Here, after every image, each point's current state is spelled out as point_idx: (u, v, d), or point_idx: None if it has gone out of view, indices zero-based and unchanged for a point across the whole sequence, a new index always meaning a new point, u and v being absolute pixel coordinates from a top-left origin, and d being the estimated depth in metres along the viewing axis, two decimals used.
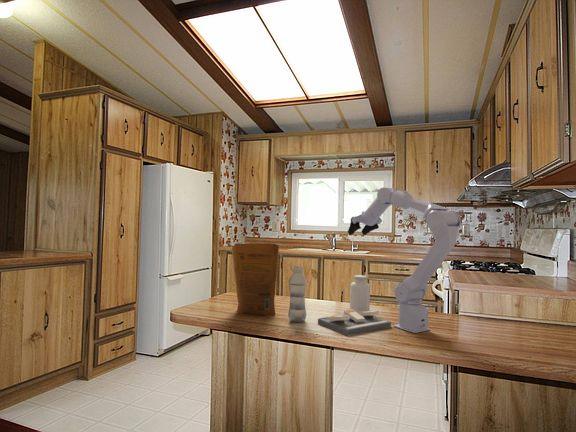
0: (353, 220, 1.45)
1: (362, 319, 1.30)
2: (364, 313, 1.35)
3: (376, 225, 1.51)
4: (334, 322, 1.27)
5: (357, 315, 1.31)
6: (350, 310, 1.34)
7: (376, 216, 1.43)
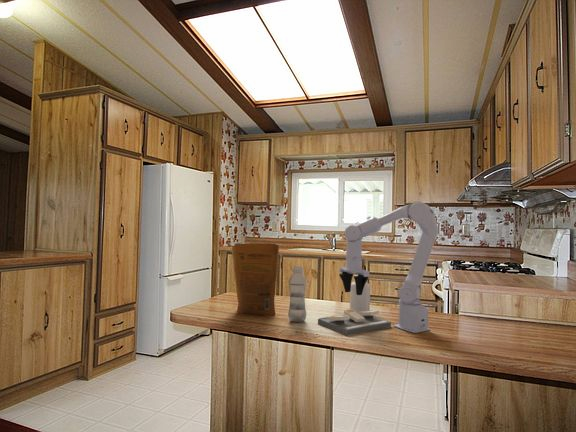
0: (367, 274, 1.34)
1: (362, 319, 1.30)
2: (364, 313, 1.35)
3: None
4: (334, 322, 1.27)
5: (357, 315, 1.31)
6: (350, 310, 1.34)
7: None
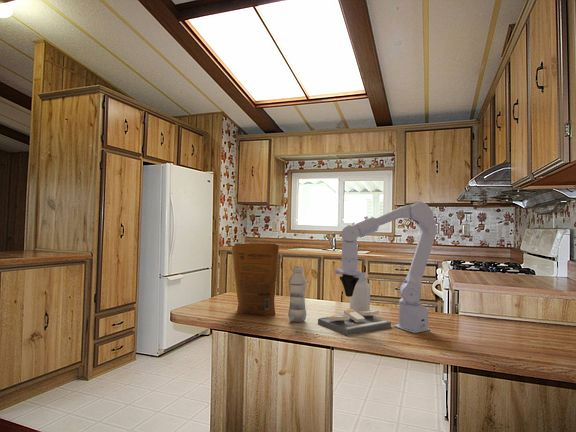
0: (363, 276, 1.29)
1: (362, 319, 1.30)
2: (364, 313, 1.35)
3: None
4: (334, 322, 1.27)
5: (357, 315, 1.31)
6: (350, 310, 1.34)
7: None
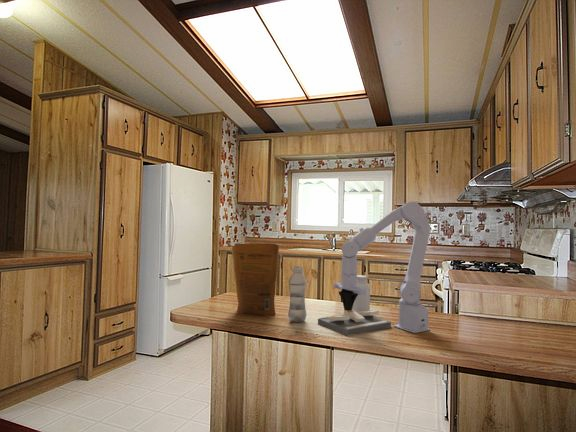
0: (362, 292, 1.29)
1: (362, 319, 1.30)
2: (364, 313, 1.35)
3: None
4: (334, 322, 1.27)
5: (357, 315, 1.31)
6: (350, 310, 1.34)
7: None
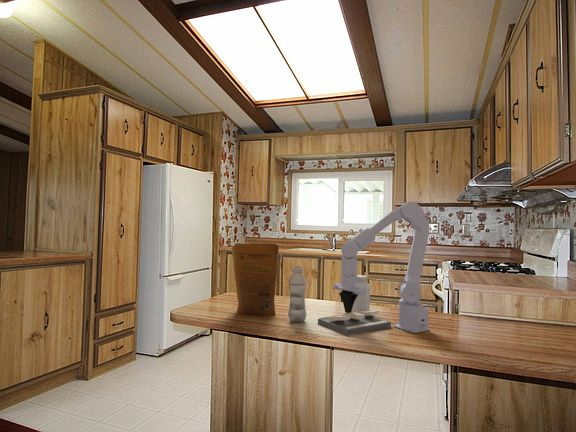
0: (362, 293, 1.29)
1: (362, 316, 1.30)
2: (364, 313, 1.35)
3: None
4: (334, 322, 1.27)
5: (356, 314, 1.31)
6: (349, 312, 1.34)
7: None
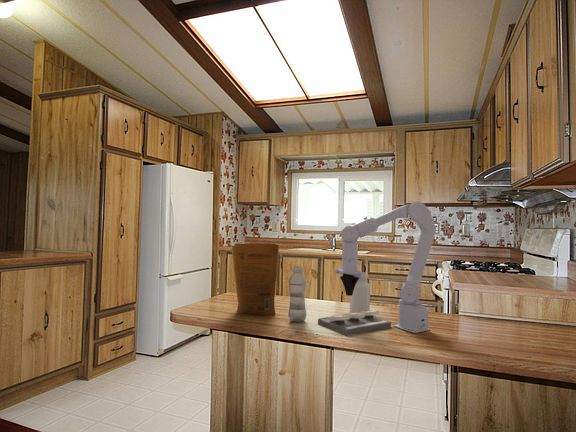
0: (363, 275, 1.32)
1: (362, 315, 1.30)
2: (364, 313, 1.35)
3: None
4: (334, 322, 1.27)
5: (356, 313, 1.31)
6: (349, 313, 1.34)
7: None
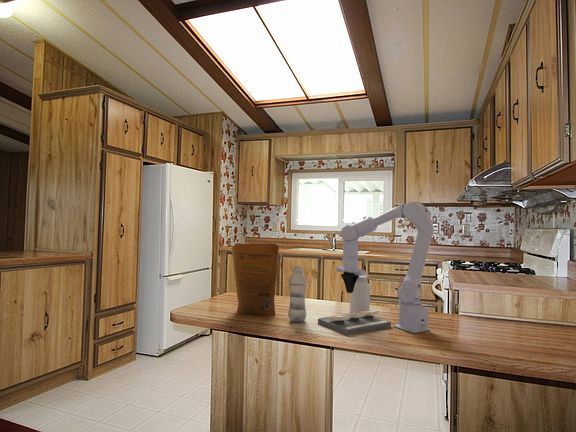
0: (363, 273, 1.36)
1: (362, 314, 1.30)
2: (364, 313, 1.35)
3: None
4: (334, 322, 1.27)
5: (356, 313, 1.31)
6: None
7: None
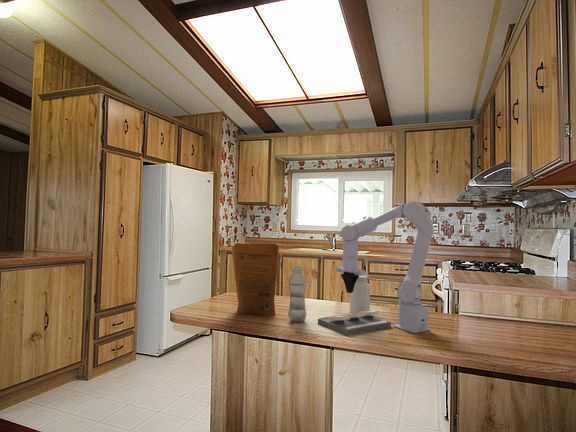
0: (363, 273, 1.36)
1: (362, 313, 1.30)
2: (364, 313, 1.35)
3: None
4: (334, 322, 1.27)
5: (356, 313, 1.31)
6: None
7: None
